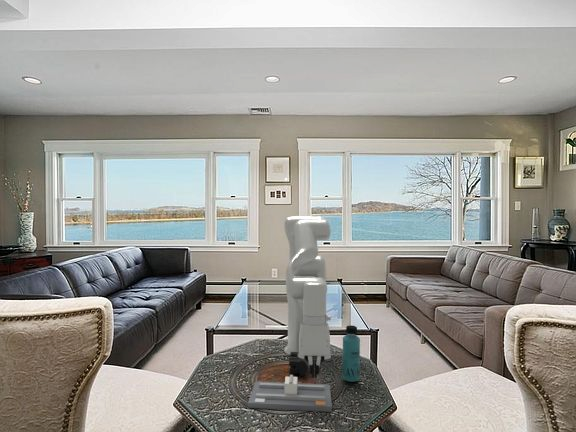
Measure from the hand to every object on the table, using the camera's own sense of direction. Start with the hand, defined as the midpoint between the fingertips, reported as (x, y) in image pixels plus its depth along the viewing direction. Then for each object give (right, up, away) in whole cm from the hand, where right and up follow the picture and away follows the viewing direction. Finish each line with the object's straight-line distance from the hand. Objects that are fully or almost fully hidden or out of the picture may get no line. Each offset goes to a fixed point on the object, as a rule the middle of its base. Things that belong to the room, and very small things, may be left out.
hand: (314, 376), depth 113 cm
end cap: (-4, -8, +20) cm, 22 cm away
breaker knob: (-8, -6, +1) cm, 10 cm away
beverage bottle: (+14, -8, +13) cm, 21 cm away
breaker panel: (-8, -8, +1) cm, 11 cm away
